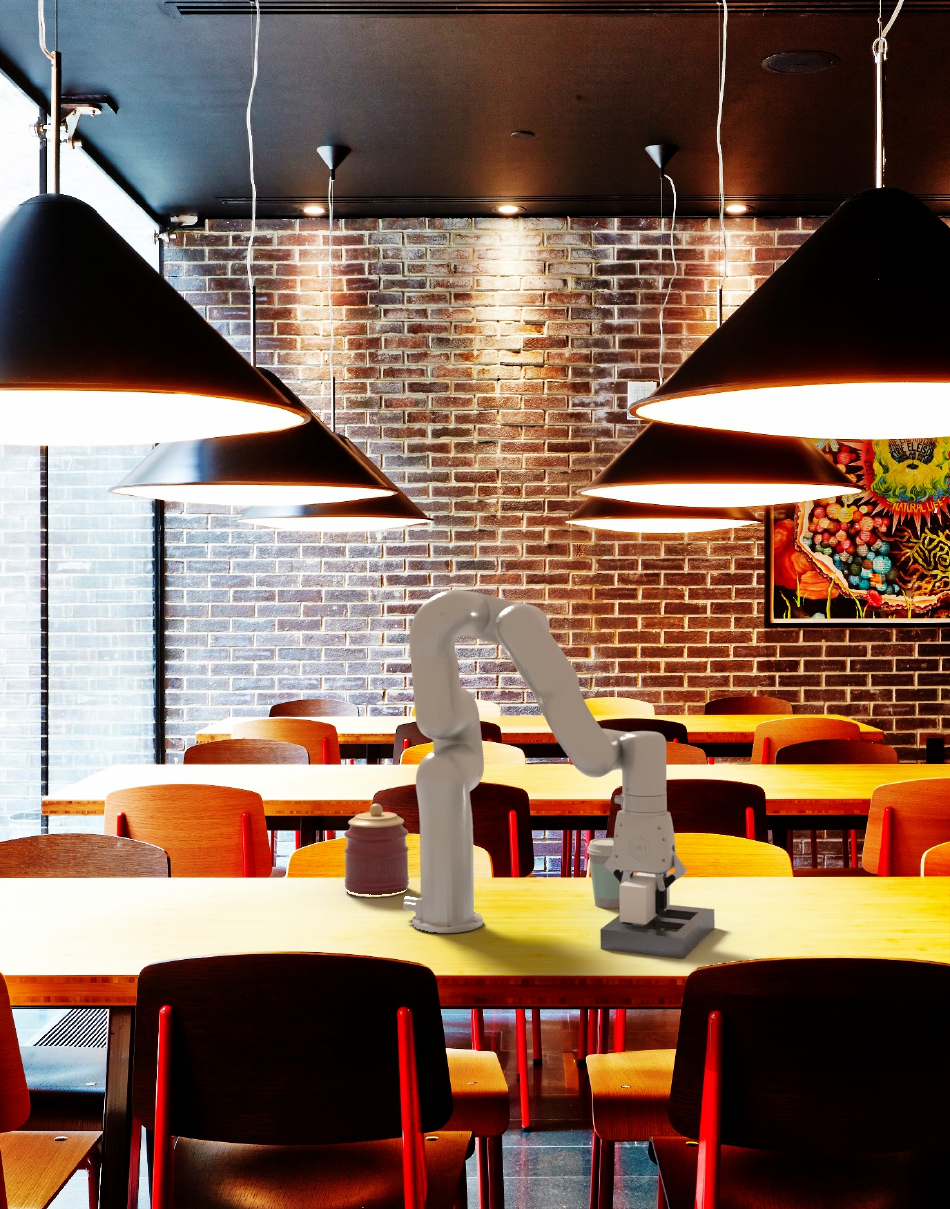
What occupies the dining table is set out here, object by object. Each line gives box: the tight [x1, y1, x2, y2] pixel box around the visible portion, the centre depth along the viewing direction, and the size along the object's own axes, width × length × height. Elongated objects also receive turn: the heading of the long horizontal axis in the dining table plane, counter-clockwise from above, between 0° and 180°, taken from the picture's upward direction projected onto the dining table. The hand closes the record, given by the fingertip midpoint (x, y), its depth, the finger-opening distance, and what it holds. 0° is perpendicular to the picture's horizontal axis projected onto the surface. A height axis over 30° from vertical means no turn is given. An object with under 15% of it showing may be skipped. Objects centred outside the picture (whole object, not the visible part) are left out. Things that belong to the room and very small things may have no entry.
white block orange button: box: [619, 870, 671, 931], centre depth 190 cm, size 4×14×10 cm, turn 154°
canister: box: [344, 803, 410, 895], centre depth 225 cm, size 13×13×18 cm
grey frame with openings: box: [599, 904, 716, 960], centre depth 189 cm, size 14×20×3 cm
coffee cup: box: [586, 837, 621, 909], centre depth 212 cm, size 8×9×12 cm
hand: (645, 909), depth 190 cm, fingers closed on white block orange button, 4 cm apart
